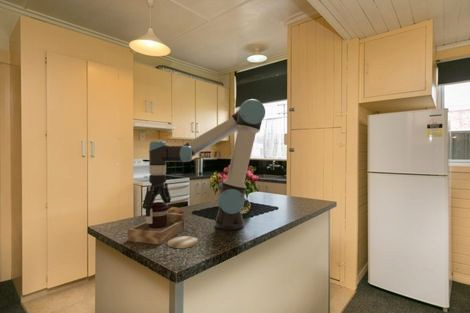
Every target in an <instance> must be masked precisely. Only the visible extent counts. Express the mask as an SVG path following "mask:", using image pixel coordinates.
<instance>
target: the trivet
mask: <svg viewBox="0 0 470 313" xmlns="http://www.w3.org/2000/svg"><path fill="white" fill-rule="evenodd" d="M166 242H167V246H168V247H170V248H173V249H186V248H187V249H188V248H192V247H194V246H196V245H198V244H199V238H197V237H194V236H189V235H188V236H186V235H185V236H183V235H182V236H177V237H176V236H175V237H172V238H171V239H169V240H167V241H166Z"/></svg>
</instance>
